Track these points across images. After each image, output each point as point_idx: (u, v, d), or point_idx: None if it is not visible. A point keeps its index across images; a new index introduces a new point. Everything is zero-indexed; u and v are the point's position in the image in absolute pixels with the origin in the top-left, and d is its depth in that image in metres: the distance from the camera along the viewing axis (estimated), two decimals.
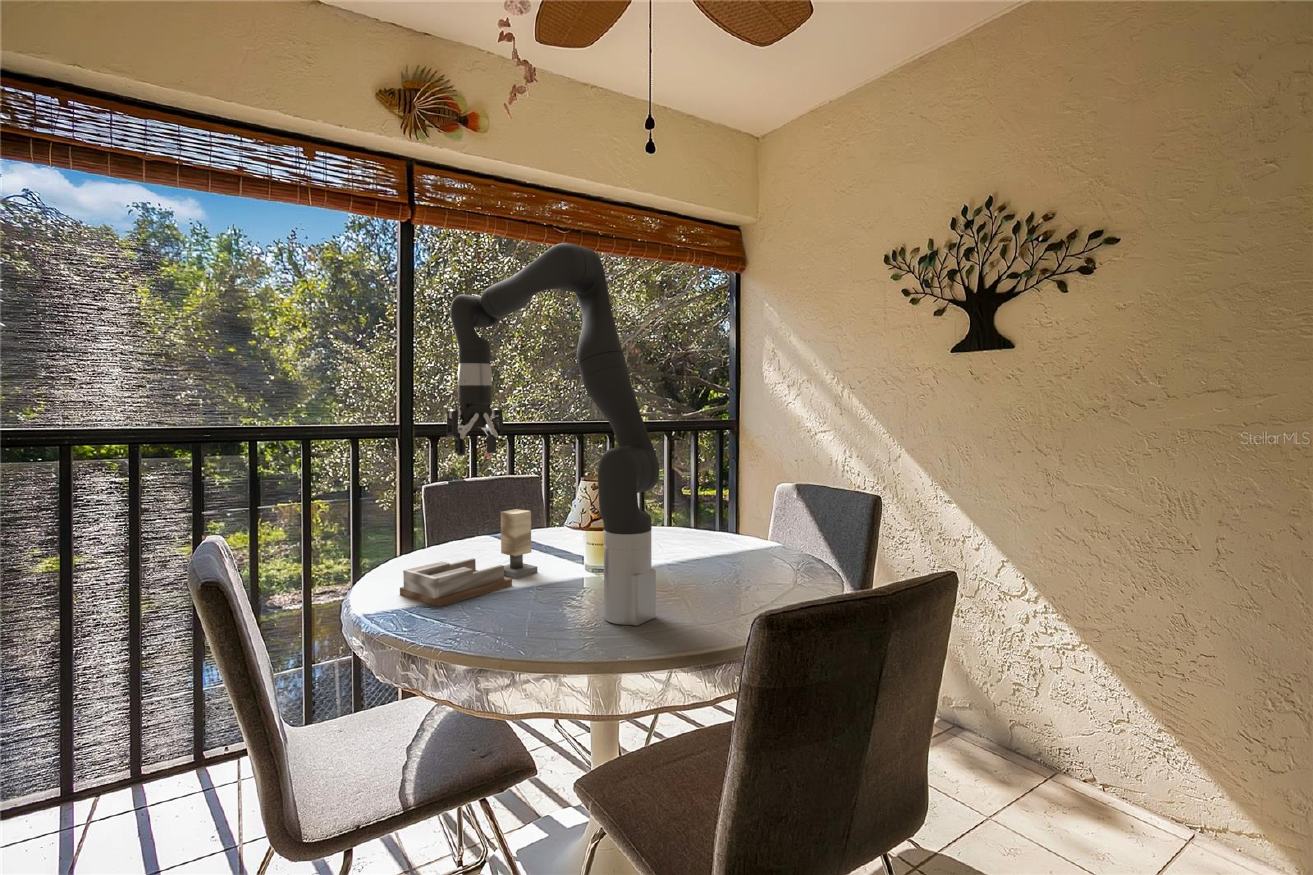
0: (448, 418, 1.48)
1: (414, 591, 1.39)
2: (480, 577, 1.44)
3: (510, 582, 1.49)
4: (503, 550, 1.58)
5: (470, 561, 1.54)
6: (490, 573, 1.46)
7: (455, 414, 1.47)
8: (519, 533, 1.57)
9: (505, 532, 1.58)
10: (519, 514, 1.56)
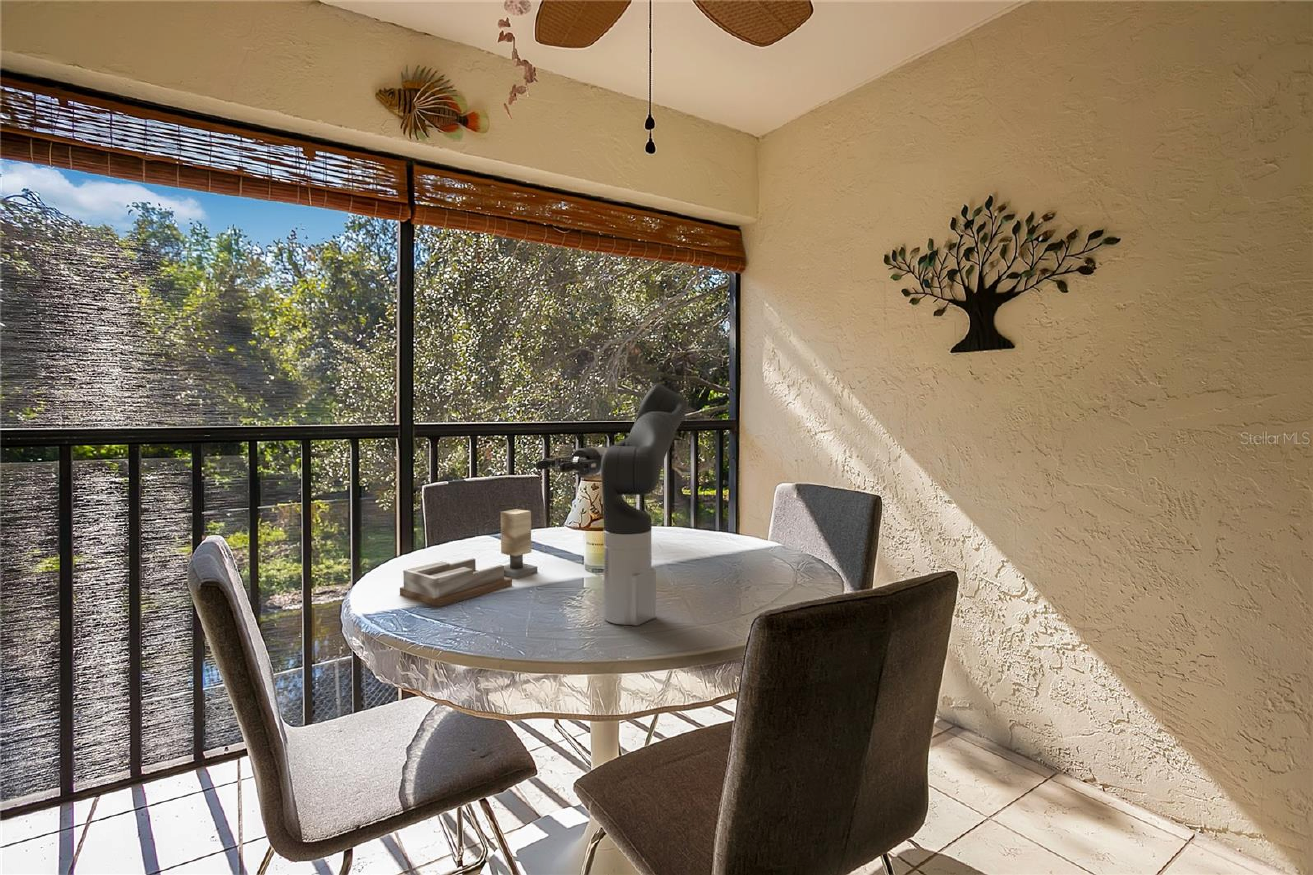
0: None
1: (414, 591, 1.39)
2: (480, 577, 1.44)
3: (510, 582, 1.49)
4: (503, 550, 1.58)
5: (470, 561, 1.54)
6: (490, 573, 1.46)
7: None
8: (519, 533, 1.57)
9: (505, 532, 1.58)
10: (519, 514, 1.56)
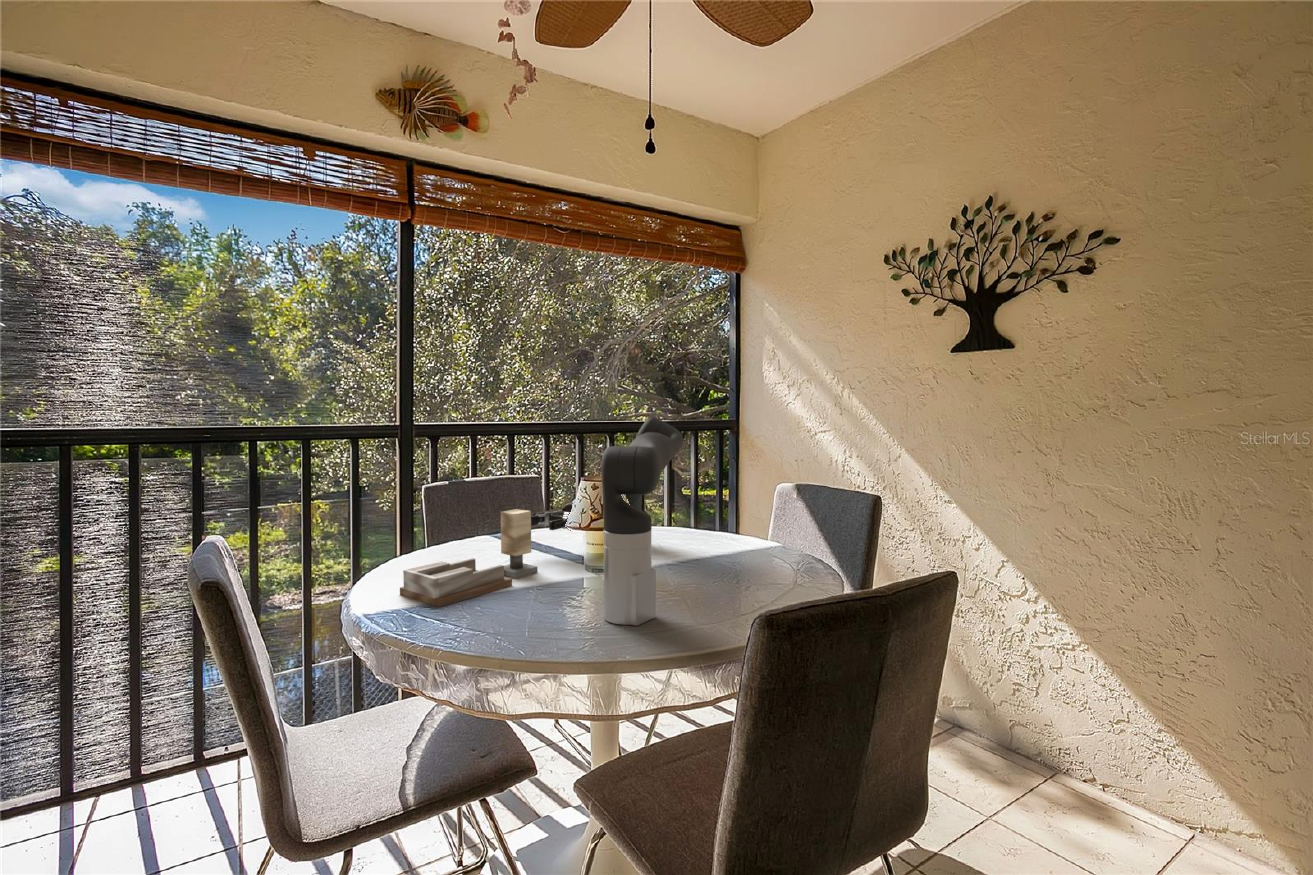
0: None
1: (414, 591, 1.39)
2: (480, 577, 1.44)
3: (510, 582, 1.49)
4: (503, 550, 1.58)
5: (470, 561, 1.54)
6: (490, 573, 1.46)
7: (547, 511, 1.76)
8: (519, 533, 1.57)
9: (505, 532, 1.58)
10: (519, 514, 1.56)
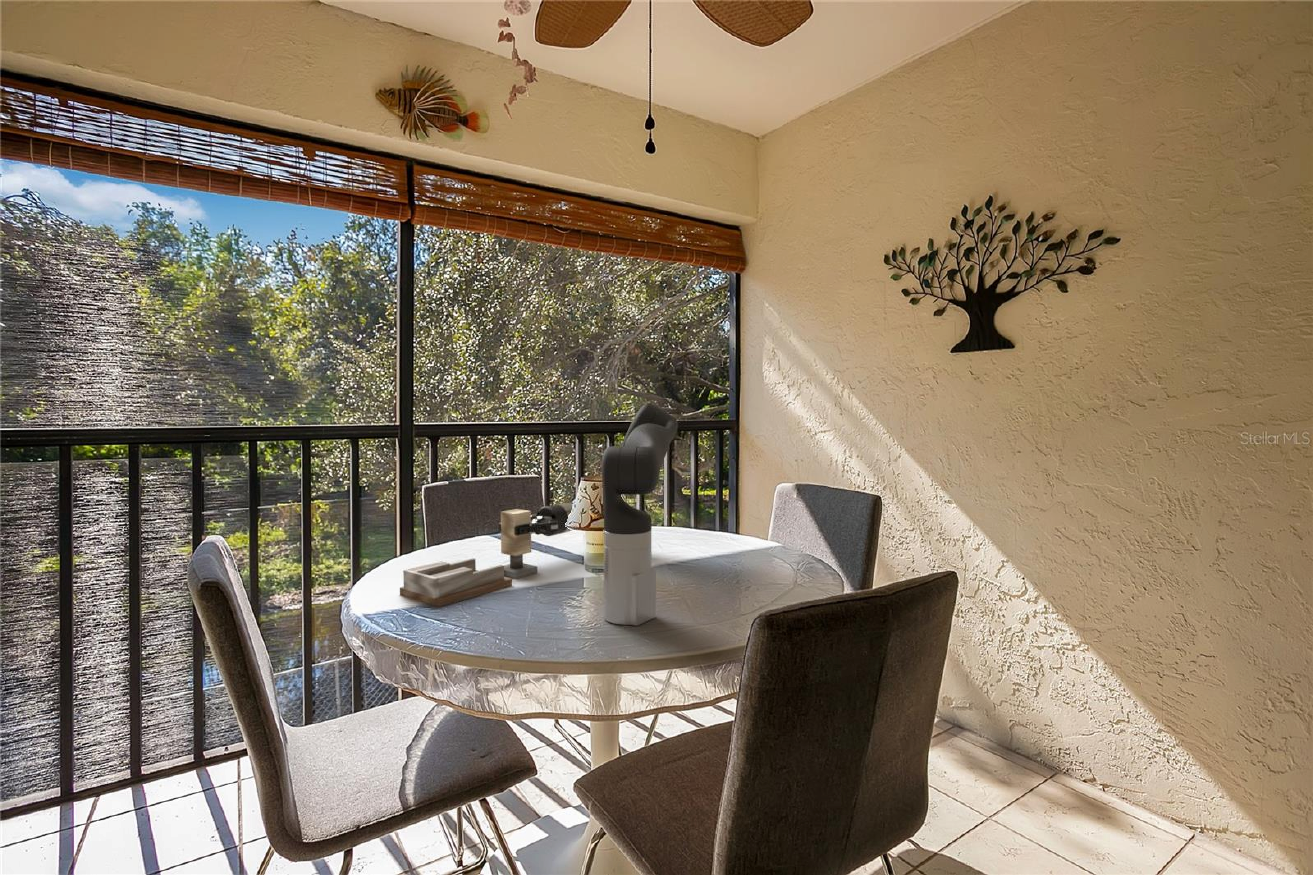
0: None
1: (414, 591, 1.39)
2: (480, 577, 1.44)
3: (510, 582, 1.49)
4: (503, 550, 1.58)
5: (470, 561, 1.54)
6: (490, 573, 1.46)
7: None
8: None
9: (505, 532, 1.58)
10: (519, 514, 1.56)
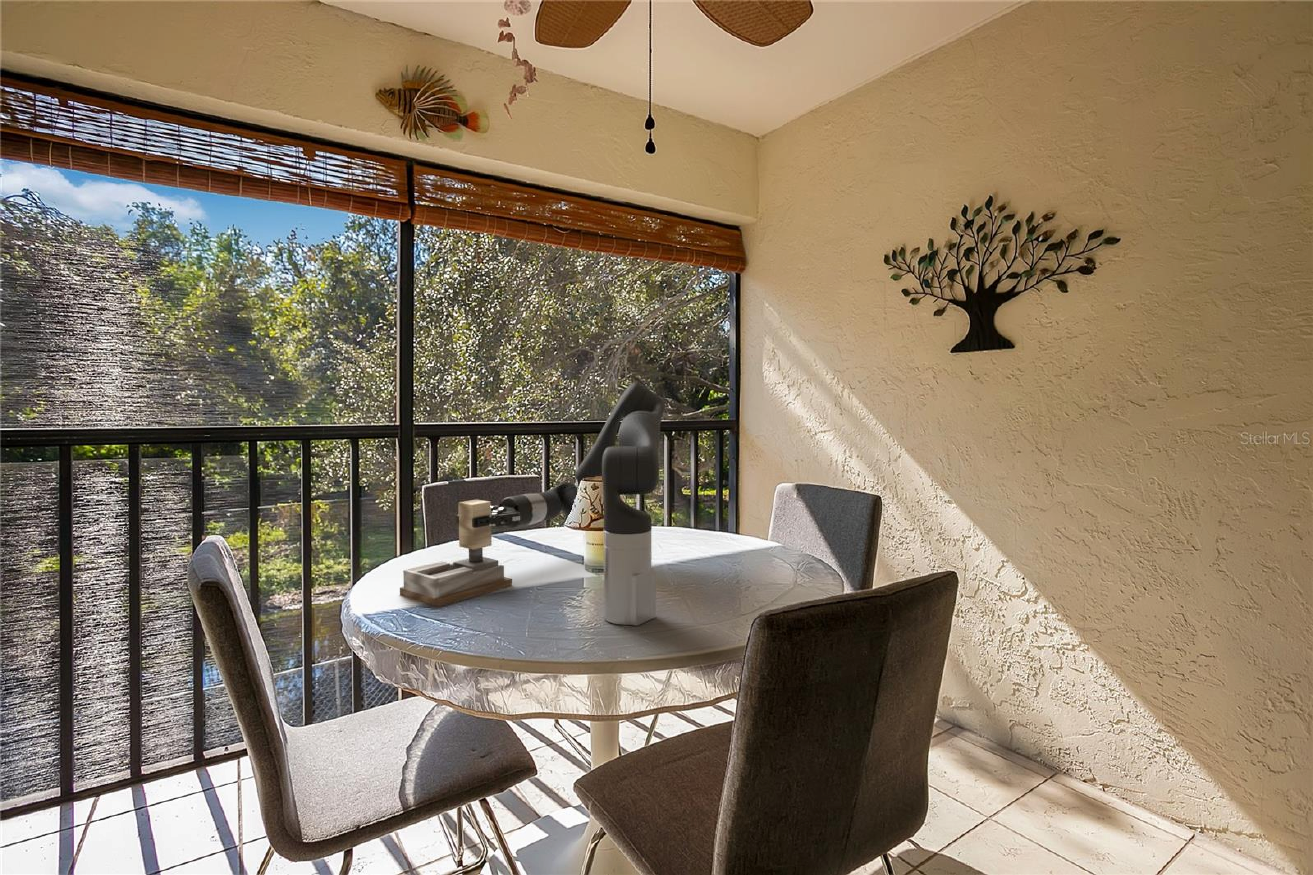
0: None
1: (414, 591, 1.39)
2: (480, 577, 1.44)
3: (510, 582, 1.49)
4: (461, 543, 1.49)
5: None
6: (490, 573, 1.46)
7: None
8: None
9: (463, 524, 1.48)
10: (477, 505, 1.47)
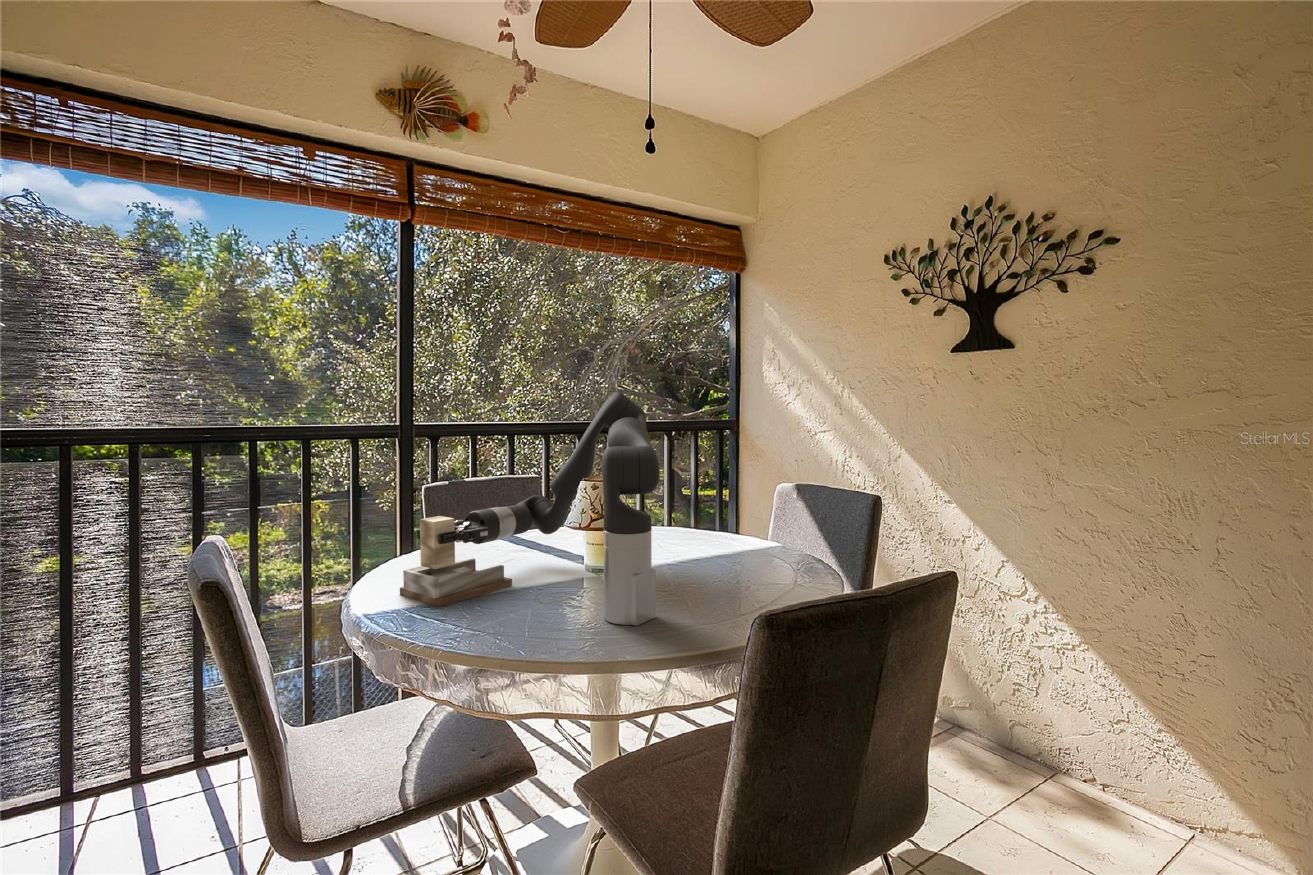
0: None
1: (414, 591, 1.39)
2: (480, 577, 1.44)
3: (510, 582, 1.49)
4: (423, 562, 1.41)
5: (470, 561, 1.54)
6: (490, 573, 1.46)
7: None
8: None
9: (424, 542, 1.40)
10: (439, 522, 1.39)
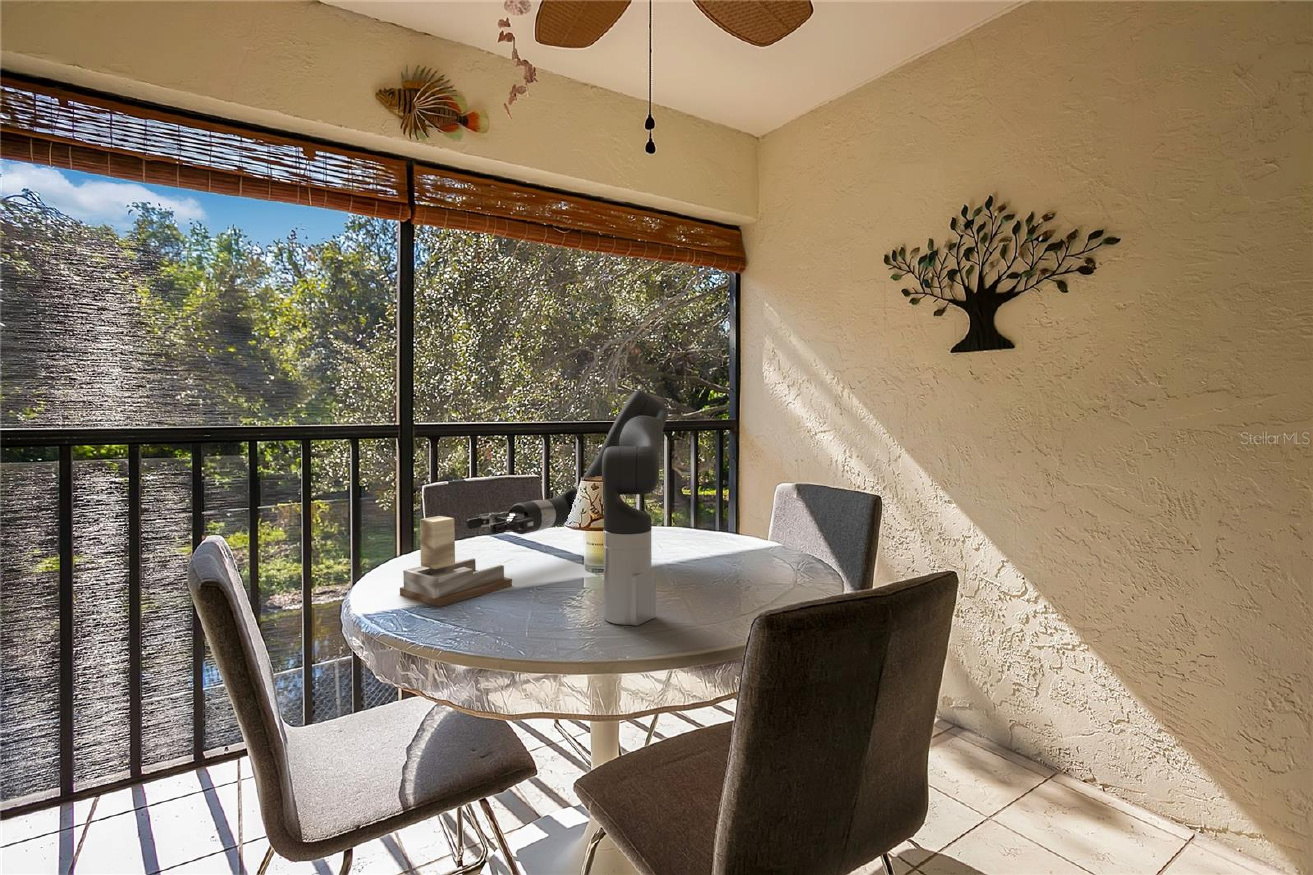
0: None
1: (414, 591, 1.39)
2: (480, 577, 1.44)
3: (510, 582, 1.49)
4: (423, 562, 1.41)
5: (470, 561, 1.54)
6: (490, 573, 1.46)
7: (493, 512, 1.62)
8: (439, 543, 1.39)
9: (424, 542, 1.40)
10: (439, 522, 1.39)
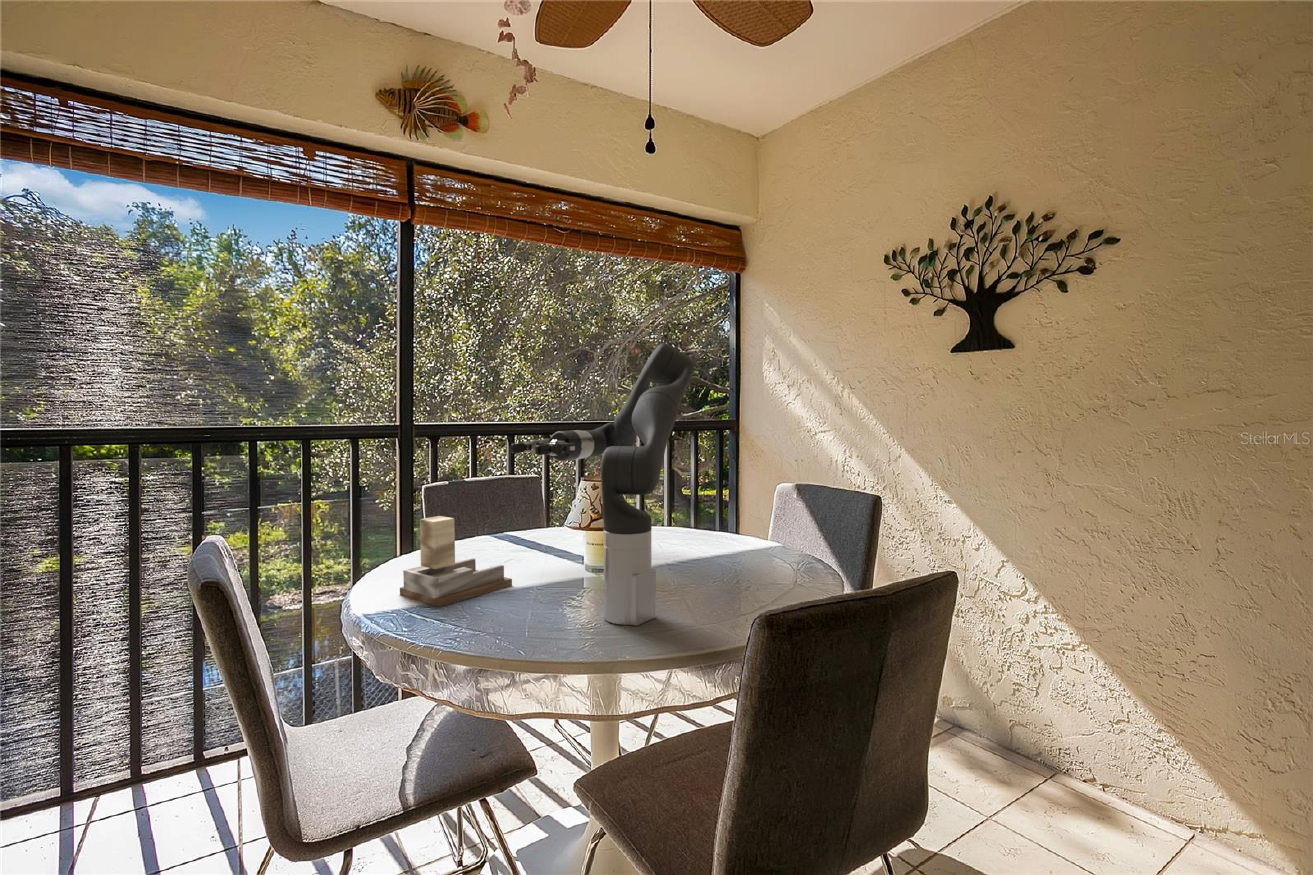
0: None
1: (414, 591, 1.39)
2: (480, 577, 1.44)
3: (510, 582, 1.49)
4: (423, 562, 1.41)
5: (470, 561, 1.54)
6: (490, 573, 1.46)
7: None
8: (439, 543, 1.39)
9: (424, 542, 1.40)
10: (439, 522, 1.39)
